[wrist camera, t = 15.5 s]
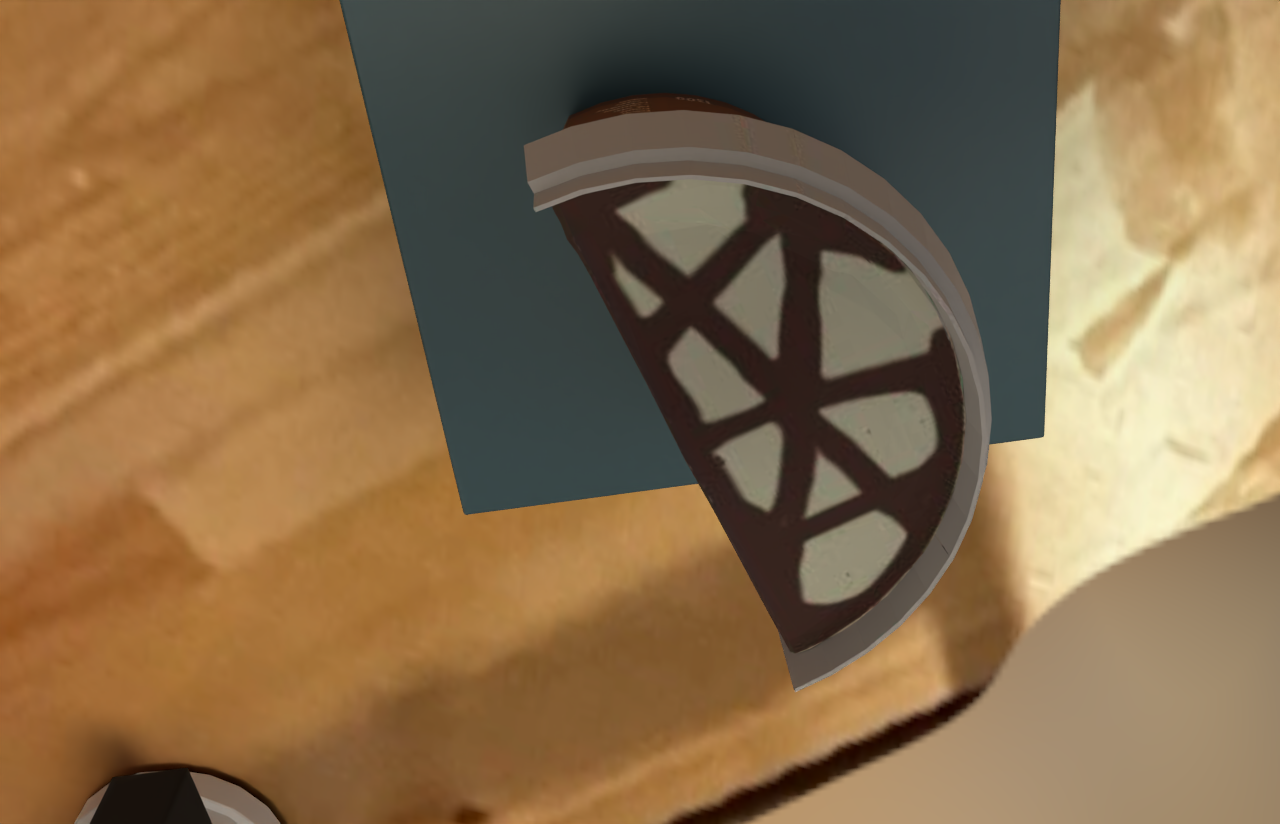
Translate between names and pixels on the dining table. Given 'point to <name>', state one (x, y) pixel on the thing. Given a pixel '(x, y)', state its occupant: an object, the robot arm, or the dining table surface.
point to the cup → (208, 803)
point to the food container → (786, 352)
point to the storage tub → (712, 68)
